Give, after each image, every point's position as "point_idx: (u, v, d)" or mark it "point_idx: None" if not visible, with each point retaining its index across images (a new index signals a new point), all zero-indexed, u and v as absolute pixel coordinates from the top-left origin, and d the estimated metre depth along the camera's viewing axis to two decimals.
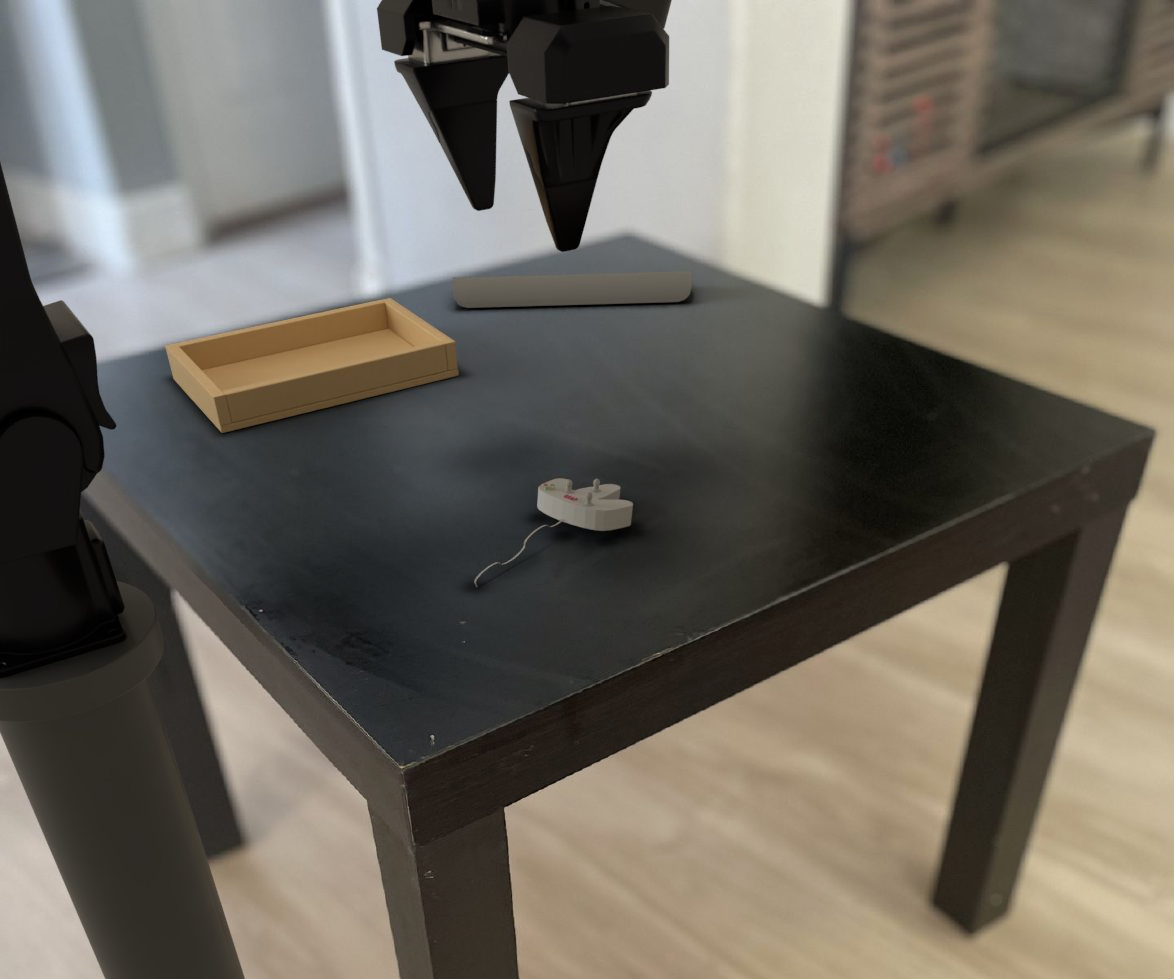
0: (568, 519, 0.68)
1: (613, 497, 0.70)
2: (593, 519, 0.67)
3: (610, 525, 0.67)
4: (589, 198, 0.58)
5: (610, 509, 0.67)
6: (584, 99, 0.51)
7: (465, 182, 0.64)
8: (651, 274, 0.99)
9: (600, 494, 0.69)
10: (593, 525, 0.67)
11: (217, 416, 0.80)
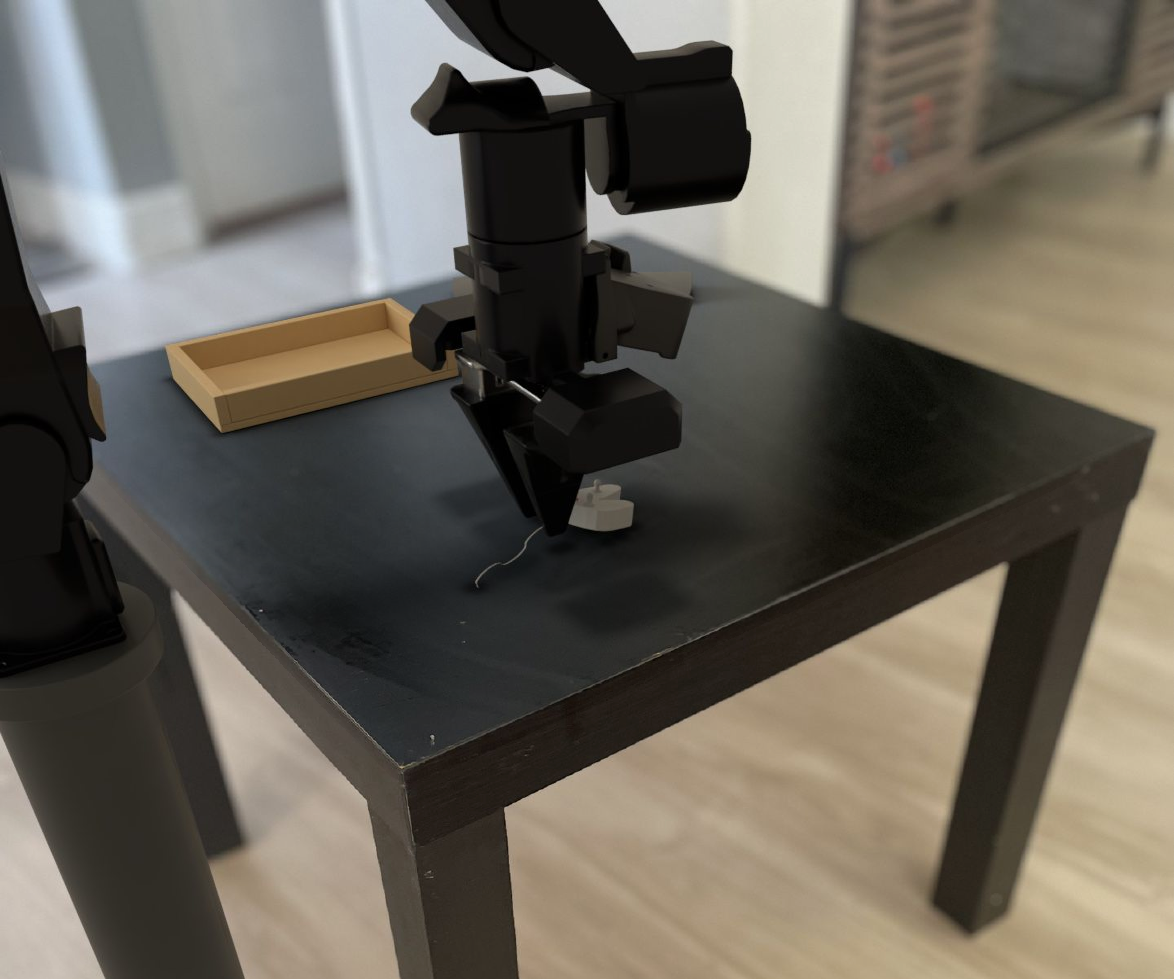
0: None
1: (614, 497, 0.70)
2: (594, 519, 0.67)
3: (611, 525, 0.67)
4: (575, 496, 0.65)
5: (611, 509, 0.67)
6: (604, 468, 0.56)
7: (516, 496, 0.67)
8: (651, 274, 0.99)
9: (601, 494, 0.69)
10: (594, 525, 0.67)
11: (217, 416, 0.80)
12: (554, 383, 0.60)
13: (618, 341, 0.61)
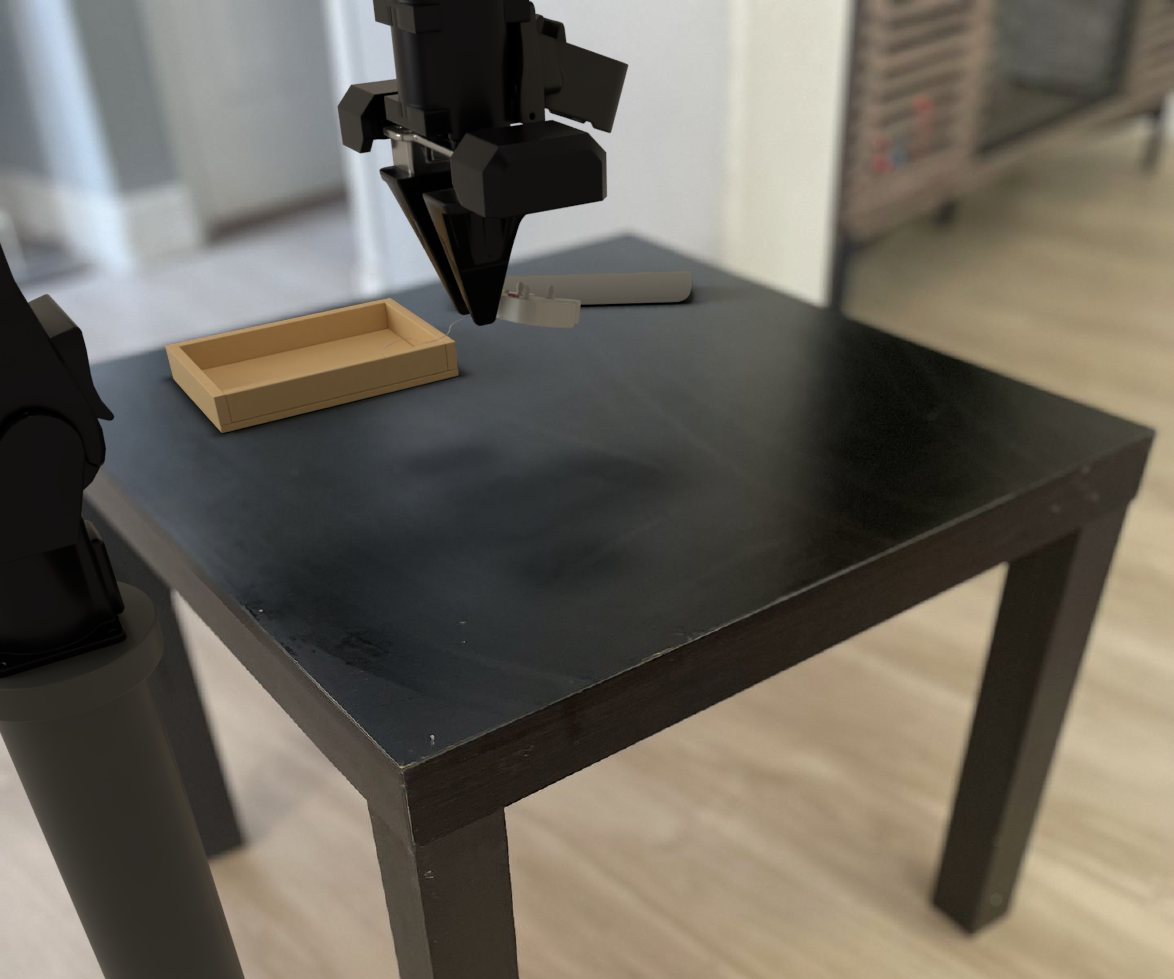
0: (506, 315, 0.65)
1: None
2: (526, 312, 0.64)
3: (544, 320, 0.64)
4: (502, 278, 0.62)
5: (544, 302, 0.64)
6: (522, 214, 0.53)
7: (450, 288, 0.64)
8: (651, 274, 0.99)
9: (550, 299, 0.66)
10: (526, 319, 0.64)
11: (217, 416, 0.80)
12: None
13: (547, 104, 0.58)
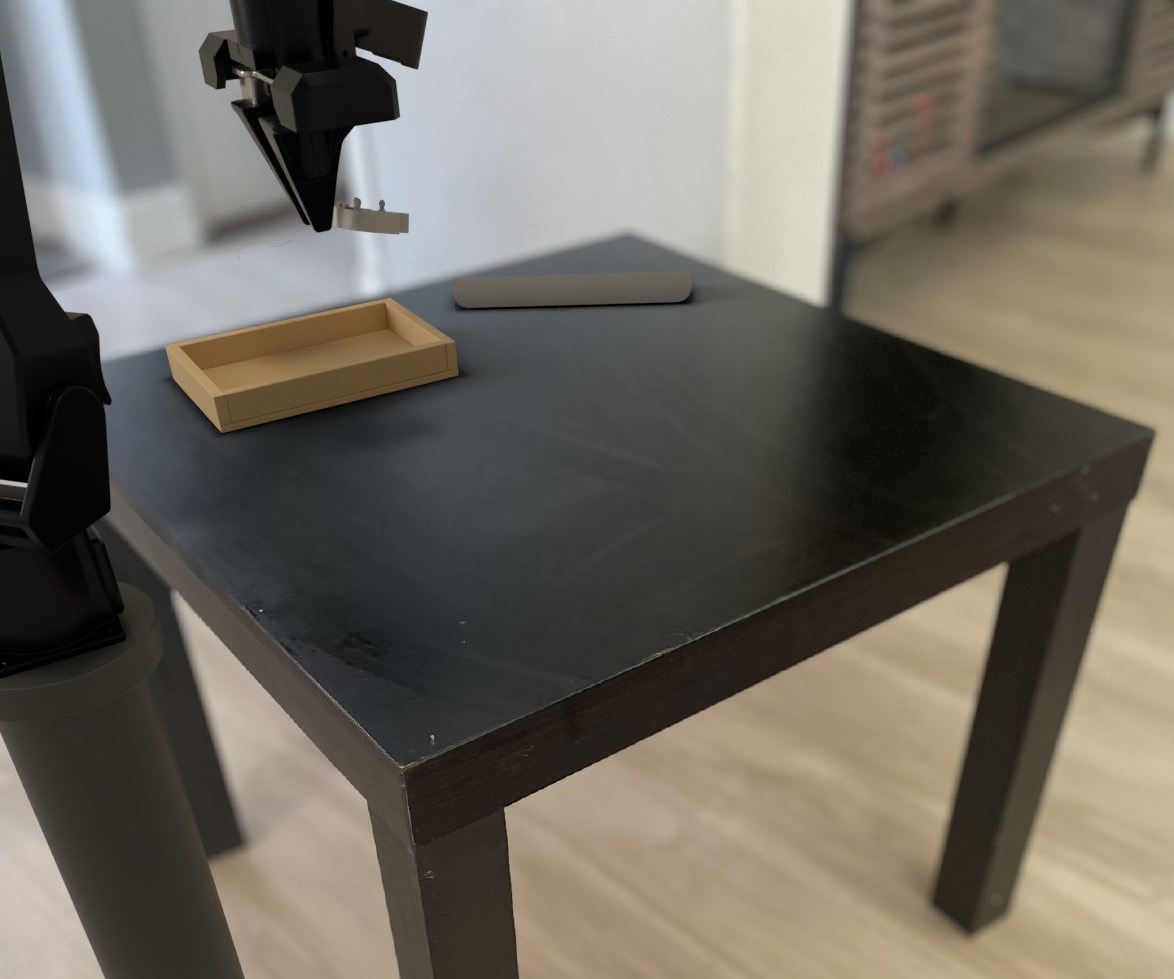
0: (343, 224, 0.79)
1: None
2: (357, 220, 0.78)
3: (372, 227, 0.78)
4: (333, 191, 0.76)
5: (372, 212, 0.77)
6: (326, 129, 0.67)
7: (293, 202, 0.78)
8: (651, 274, 0.99)
9: (381, 211, 0.79)
10: (357, 226, 0.78)
11: (217, 416, 0.80)
12: None
13: (358, 44, 0.72)
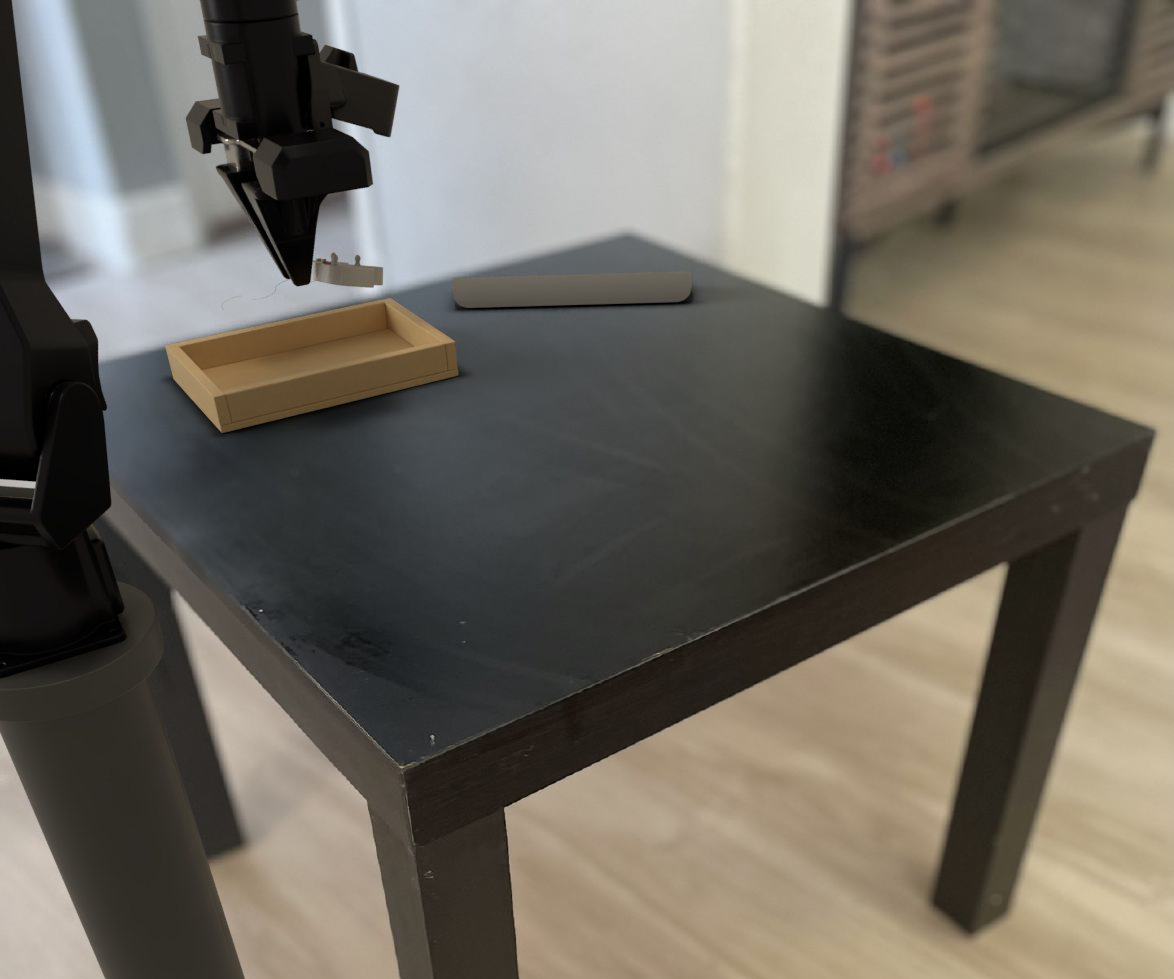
0: (321, 278, 0.84)
1: None
2: (334, 275, 0.83)
3: (348, 281, 0.83)
4: (311, 248, 0.81)
5: (348, 267, 0.83)
6: (304, 197, 0.72)
7: (275, 258, 0.83)
8: (651, 274, 0.99)
9: (357, 266, 0.85)
10: (334, 280, 0.83)
11: (217, 416, 0.80)
12: None
13: (334, 115, 0.77)
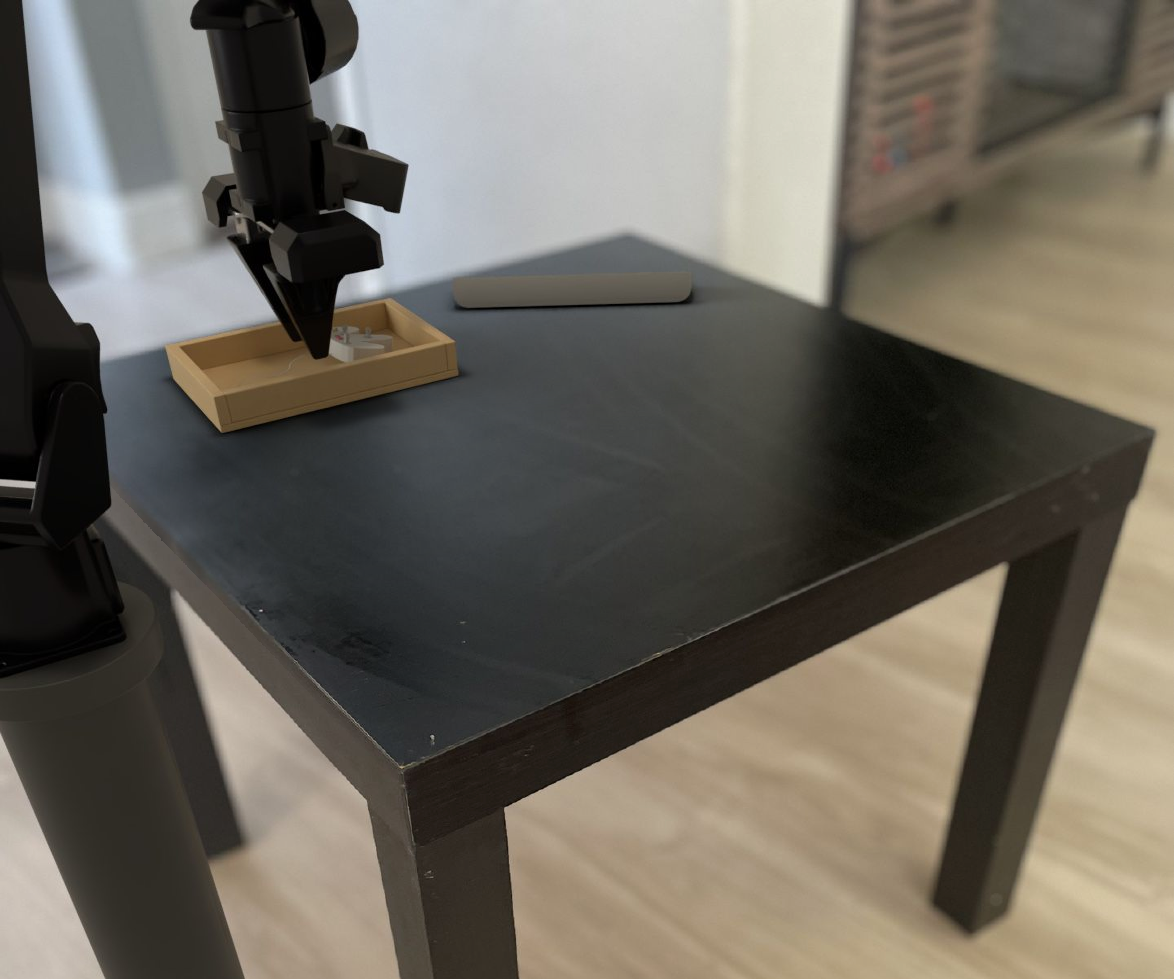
0: (333, 353, 0.87)
1: (382, 344, 0.89)
2: (346, 354, 0.86)
3: None
4: (330, 324, 0.84)
5: (359, 347, 0.86)
6: (318, 279, 0.75)
7: (283, 322, 0.87)
8: (651, 274, 0.99)
9: (368, 339, 0.88)
10: (346, 359, 0.87)
11: (217, 416, 0.80)
12: None
13: (346, 195, 0.80)
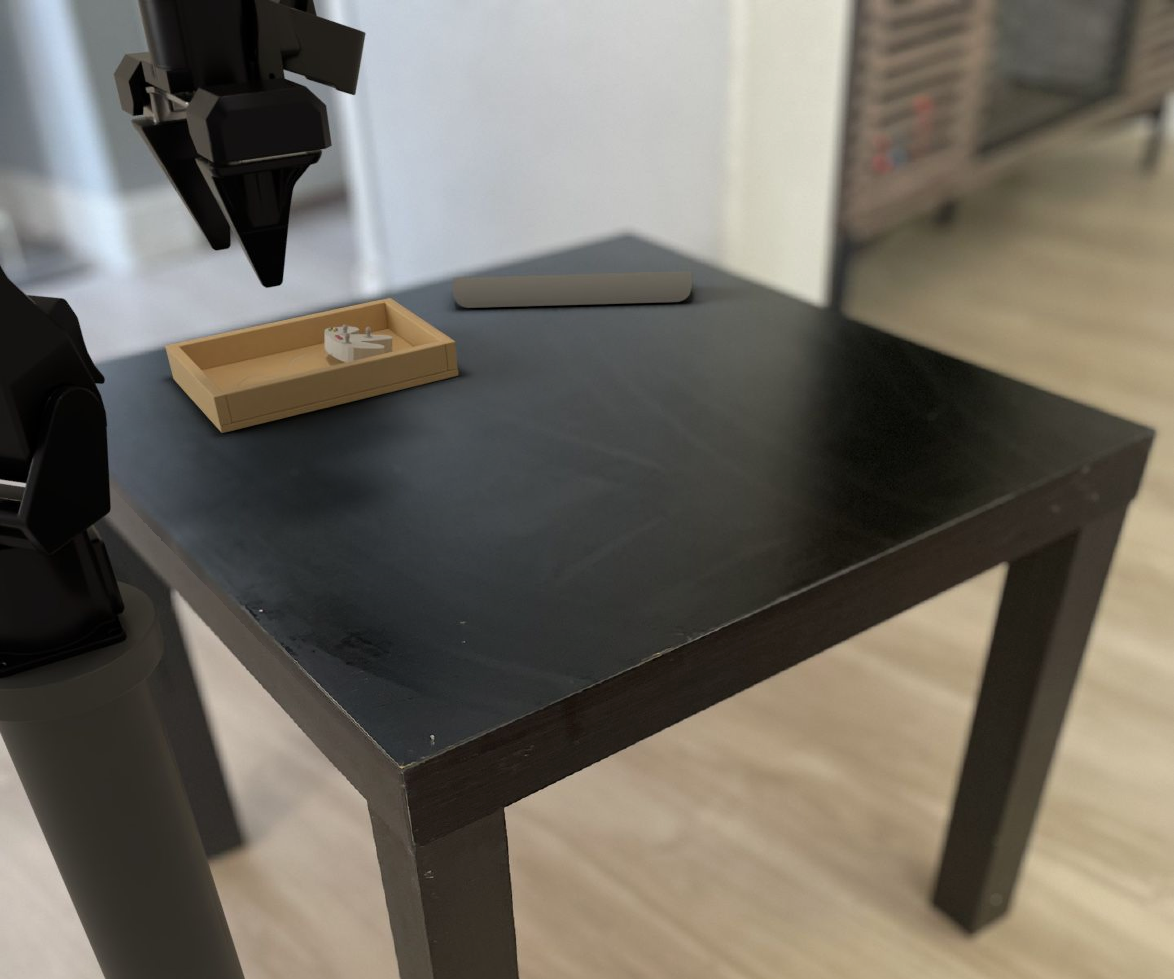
0: (333, 353, 0.87)
1: (382, 344, 0.89)
2: (346, 354, 0.86)
3: None
4: (284, 241, 0.66)
5: (359, 347, 0.86)
6: (247, 158, 0.59)
7: (200, 225, 0.73)
8: (651, 274, 0.99)
9: (368, 339, 0.88)
10: (346, 359, 0.87)
11: (217, 416, 0.80)
12: None
13: (287, 66, 0.65)
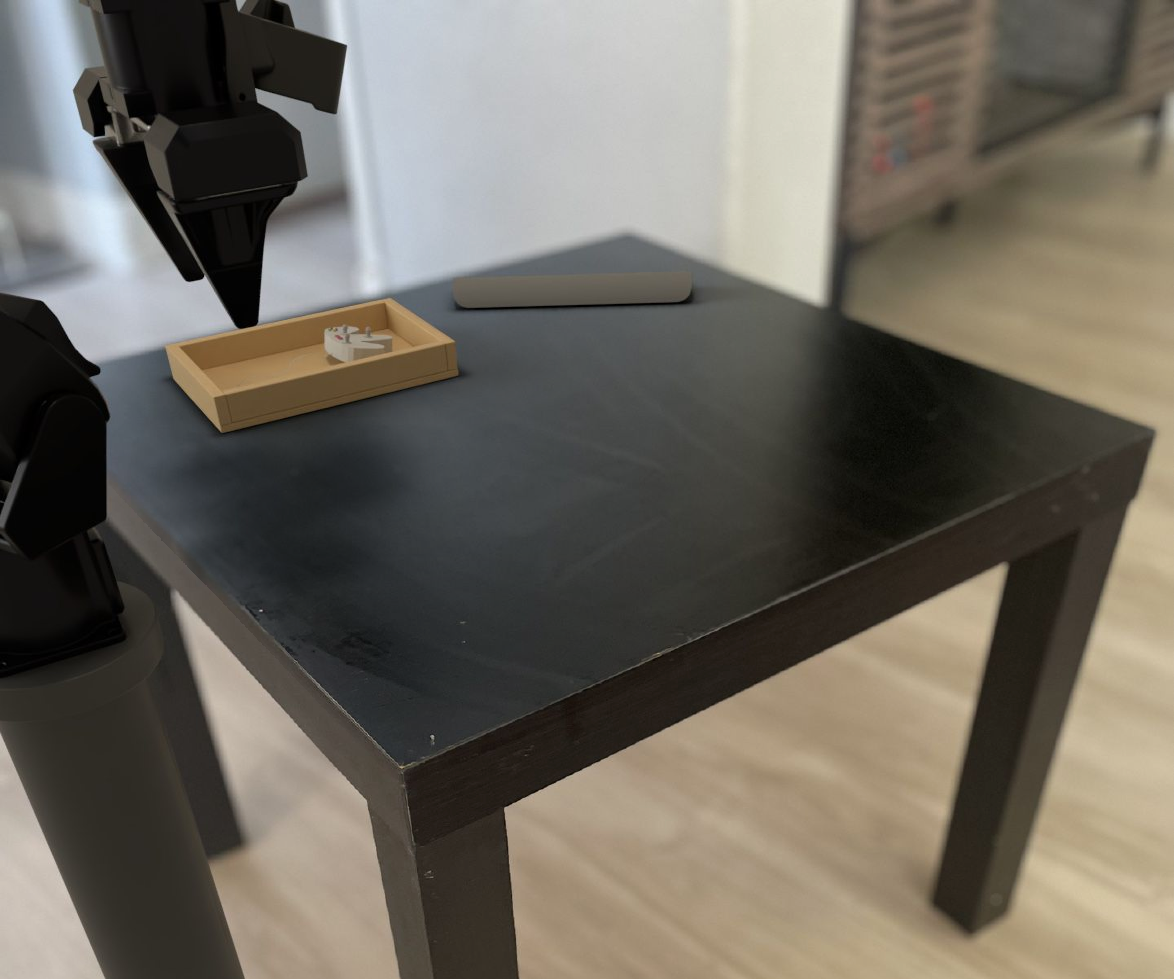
0: (333, 353, 0.87)
1: (382, 344, 0.89)
2: (346, 354, 0.86)
3: None
4: (258, 279, 0.60)
5: (359, 347, 0.86)
6: (212, 194, 0.53)
7: (170, 255, 0.66)
8: (651, 274, 0.99)
9: (368, 339, 0.88)
10: (346, 359, 0.87)
11: (217, 416, 0.80)
12: None
13: (260, 85, 0.58)
